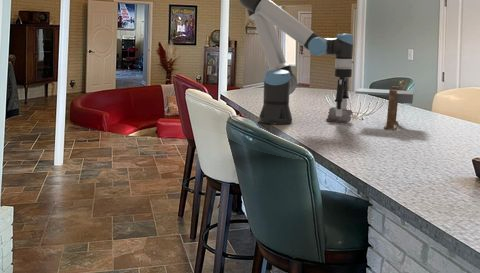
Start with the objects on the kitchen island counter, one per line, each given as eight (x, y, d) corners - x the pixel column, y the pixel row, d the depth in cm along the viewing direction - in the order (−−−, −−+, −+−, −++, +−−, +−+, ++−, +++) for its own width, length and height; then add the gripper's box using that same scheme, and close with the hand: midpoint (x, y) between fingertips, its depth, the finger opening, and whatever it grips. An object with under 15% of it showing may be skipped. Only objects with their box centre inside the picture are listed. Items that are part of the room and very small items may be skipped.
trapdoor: (354, 100, 206) (355, 91, 206) (359, 96, 221) (359, 88, 220) (412, 103, 198) (413, 94, 197) (412, 99, 213) (413, 91, 212)
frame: (383, 129, 201) (386, 90, 198) (387, 121, 222) (390, 86, 218) (395, 130, 200) (399, 90, 196) (398, 122, 220) (401, 86, 216)
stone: (350, 124, 213) (351, 109, 211) (324, 122, 217) (325, 107, 216) (353, 122, 220) (354, 107, 219) (328, 119, 225) (329, 105, 223)
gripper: (347, 69, 201) (345, 118, 205) (355, 67, 224) (352, 111, 228) (330, 69, 203) (328, 117, 208) (339, 67, 226) (337, 110, 230)
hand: (341, 114), depth 218 cm, fingers open, 13 cm apart
